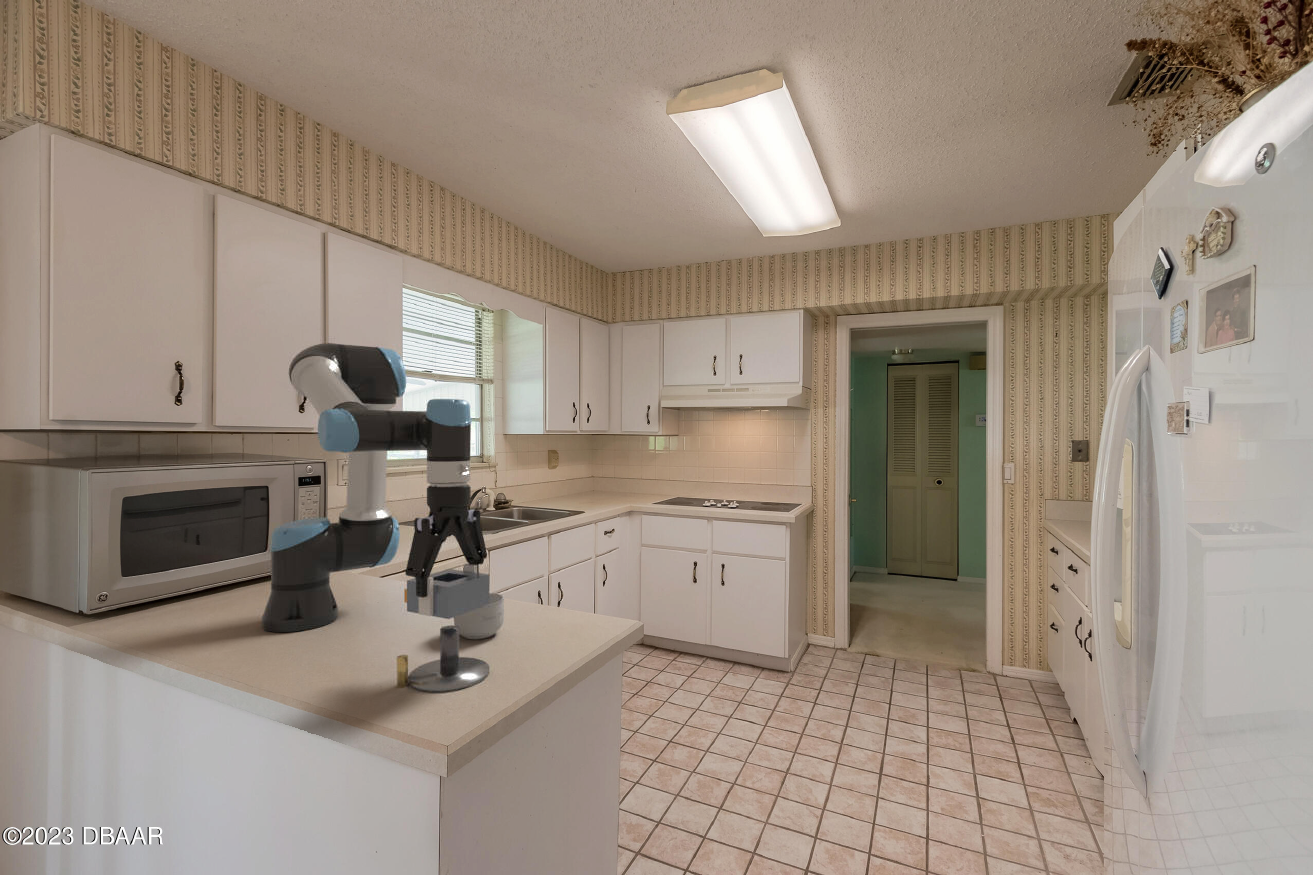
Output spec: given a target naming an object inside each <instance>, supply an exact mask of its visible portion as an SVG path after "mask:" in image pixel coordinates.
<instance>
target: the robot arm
mask: <svg viewBox="0 0 1313 875" xmlns="http://www.w3.org/2000/svg"><path fill="white" fill-rule="evenodd" d="M406 375H407V373H406V368H405V364H404V362H403V360H402V358H401V356H400V354H399V353H398V352H397V351H396V350H394V349H390V348H386V347H384V348H383V347H379V346H365V345H353V344H340V343H332V342H326V343H325V342H324V343H319V344H314V345H311V346H309V347H307V348H305V349H303V350H301V351H300V352H299V353H297V354H296V355H295V356H294V357H293V359H292V361H291V362H290V364H289V368H288V377H289V381H290V384H291V385H292V386H293V388H294V389H295V391H296V392H297V393H298V394H299V395H301V396H303V397H305V398H307V400H308V401H309V402H310V404H311V405H312V407H313V408H314V410H315V411H316V413H317V414H318V416H319V418H318V424H317V435H318V436H317V437H318V441H319V445H320V447H321V448H322V449H323V450H324V451H326V452H334V453H335V452H341V453H345V454H346V453H348V454H347V476H346V477H347V480H346V506H345V508H344V509H343V510H342V511H340V512H339V513H338V522H331V521H330V519H329V518H328V517H314V518H311V517H310V518H305V519H304V518H303V519H298V520H295V521H291V522H287V523H284V524H281V525H279V526H277V527H276V528H275V529H273V531H272V533H271V538H270V539H271V540H270V547H269V550H270V568H271V569H270V571H271V572H270V578H271V579H270V580H271V581H270V583H271V584H270V594H269V597H268V599H267V603H266V605H265V608H264V612H263V614H262V617H261V628H262V630H264V631H267V632H273V633H292V632H300V631H305V630H306V631H307V630H310V629H311V630H312V629H315V628H320V627H322V626H326V625H329V624H331V623H333V622H335V621H336V620H337V619H338V618H339V607H338V604H337V601H336V599H335V596H334V593H333V591H332V588H331V585H330V579H331V578H330V576H331V573H335V572H336V573H337V572H338V573H339V572H344V571H350V570H358V569H366V568H370V569H371V568H375V567H377V566H383V565H387V564H389V563H390V562H392V560H393V559H394V558H395V556H396V554H397V552H398V549H399V545H400V538H401V533H400V531H399V530H400V524H399V522H398V520H397V519H396V518H394V517H392V512H391V511H390V509H388V508H387V507H386V494H387V493H386V492H387V487H386V486H387V469H388V468H387V466H388V465H387V464H388V452H391V451H392V452H395V451H397V452H398V451H399V452H400V451H409V452H411V451H426V483H428V484H429V485H428V486H427V487H426V505H427V506H428V508H429V513H428V516H425V517H423V518H422V517H415V518H414V521H413V527H414V528H413V529H414V531H413V532H414V533H413V536H412V537H413V538H412V541H411V546H410V550H409V555H408V559H407V564H406V567H405V573H404V574H405V575H406V576H407V577H413V578H416V595H417V597H419V614H418V615H421V616H426V617H433V616H432V615H433V578H432V577H429V575H430V574H432V570H433V568H434V565H435V563H436V560H437V558H438V555H439V552H440V550H441V548H442V545H443V543H445V542H446V541H447V539H448V537H451V536H453V537H454V538H455V540H456V542H457V544H458V546H459V548H460V550H461V552H462V555H463V556H464V558H465V561H466V562H467V563H464V564H463V570H462V571H468V572H475V573H480V572H479V571H480V570H479V569H480V568H479V565H483V564H484V561H485V560H486V559H487V557H488V553H487V547H486V543H485V539H484V533H483V529H482V524H481V511H480V510H479V509H469V508H468V506H469V505H470V504H471V490H472V489H471V488H472V487H471V486H470V484H468V483H470V482H471V436H472V434H471V432H472V430H471V429H472V428H471V426H472V424H471V423H472V418H471V406H470V403H469V401H468V400H465V399H460V398H459V399H458V398H456V399H455V398H432V399H429V400H428V402H427V403H426V410H423V411H422V410H421V411H420V410H419V411H418V410H392V409H393V408H394V407H395V406H396V405H397V398H400V397H402V396H404V395H405V391H406V390H405V389H406V388H407V376H406Z"/></svg>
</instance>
